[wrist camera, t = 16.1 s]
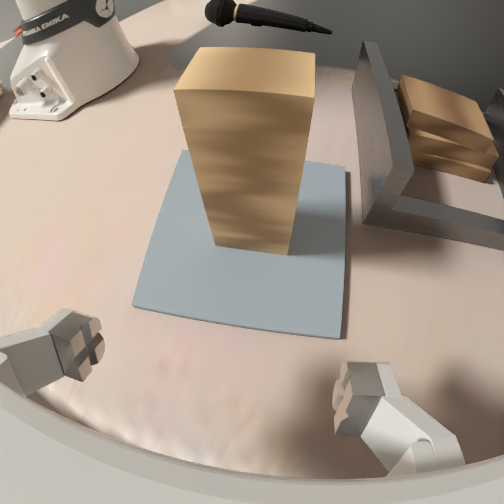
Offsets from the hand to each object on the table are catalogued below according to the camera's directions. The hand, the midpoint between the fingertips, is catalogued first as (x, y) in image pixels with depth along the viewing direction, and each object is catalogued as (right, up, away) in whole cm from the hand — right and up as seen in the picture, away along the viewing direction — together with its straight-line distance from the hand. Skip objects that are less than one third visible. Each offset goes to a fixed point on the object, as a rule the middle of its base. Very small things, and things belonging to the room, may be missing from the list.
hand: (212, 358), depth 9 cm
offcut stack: (+20, +14, +18) cm, 30 cm away
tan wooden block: (+1, +5, +13) cm, 14 cm away
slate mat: (+1, +5, +13) cm, 14 cm away
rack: (+20, +12, +16) cm, 29 cm away
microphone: (+3, +38, +29) cm, 48 cm away
